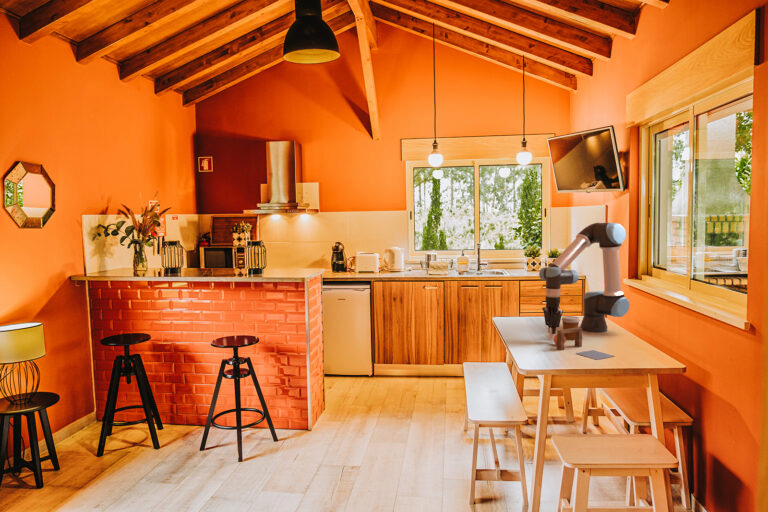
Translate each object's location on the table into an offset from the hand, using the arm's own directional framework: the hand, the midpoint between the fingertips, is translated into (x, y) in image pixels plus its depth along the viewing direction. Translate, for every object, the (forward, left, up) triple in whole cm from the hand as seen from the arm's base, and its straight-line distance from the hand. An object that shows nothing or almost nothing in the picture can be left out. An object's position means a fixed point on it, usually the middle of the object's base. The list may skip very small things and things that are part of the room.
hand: (551, 339), depth 279 cm
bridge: (0, +12, -2) cm, 12 cm away
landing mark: (0, +28, -2) cm, 28 cm away
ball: (0, +6, +1) cm, 6 cm away
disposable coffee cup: (-16, -2, -2) cm, 16 cm away
